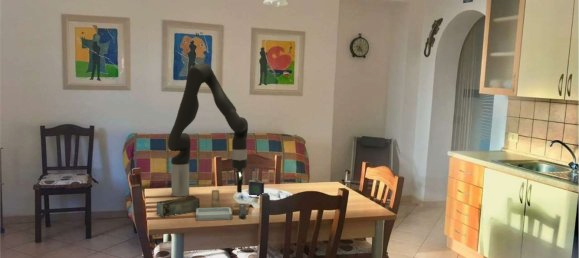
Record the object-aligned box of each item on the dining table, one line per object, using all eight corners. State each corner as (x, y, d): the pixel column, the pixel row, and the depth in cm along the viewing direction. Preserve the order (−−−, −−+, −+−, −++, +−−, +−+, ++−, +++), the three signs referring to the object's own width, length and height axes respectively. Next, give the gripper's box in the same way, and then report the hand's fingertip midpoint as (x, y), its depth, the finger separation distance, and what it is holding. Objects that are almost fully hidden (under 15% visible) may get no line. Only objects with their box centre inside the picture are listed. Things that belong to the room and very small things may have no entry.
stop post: (239, 216, 218) (239, 204, 217) (245, 216, 218) (245, 204, 218) (239, 218, 215) (239, 206, 214) (246, 218, 216) (246, 205, 215)
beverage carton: (155, 213, 221) (155, 200, 220) (192, 207, 232) (192, 194, 232) (162, 218, 214) (162, 204, 214) (200, 211, 226) (200, 197, 226)
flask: (247, 197, 252) (247, 177, 251) (250, 195, 254) (250, 176, 253) (262, 199, 248) (263, 179, 247) (265, 198, 251) (265, 178, 249)
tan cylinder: (211, 207, 231) (211, 189, 230) (219, 207, 232) (219, 189, 231) (211, 209, 228) (211, 191, 227) (219, 209, 228) (219, 191, 227)
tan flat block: (234, 209, 231) (234, 203, 231) (248, 209, 231) (249, 203, 231) (232, 215, 221) (232, 209, 221) (247, 215, 221) (247, 209, 221)
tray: (196, 213, 222) (196, 208, 222) (230, 212, 225) (230, 207, 224) (195, 220, 211) (195, 215, 211) (231, 219, 214) (231, 214, 214)
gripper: (231, 155, 238) (231, 189, 240) (232, 160, 225) (232, 195, 227) (246, 155, 240) (245, 188, 241) (248, 160, 227) (248, 195, 229)
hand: (239, 192), depth 234 cm, fingers closed
